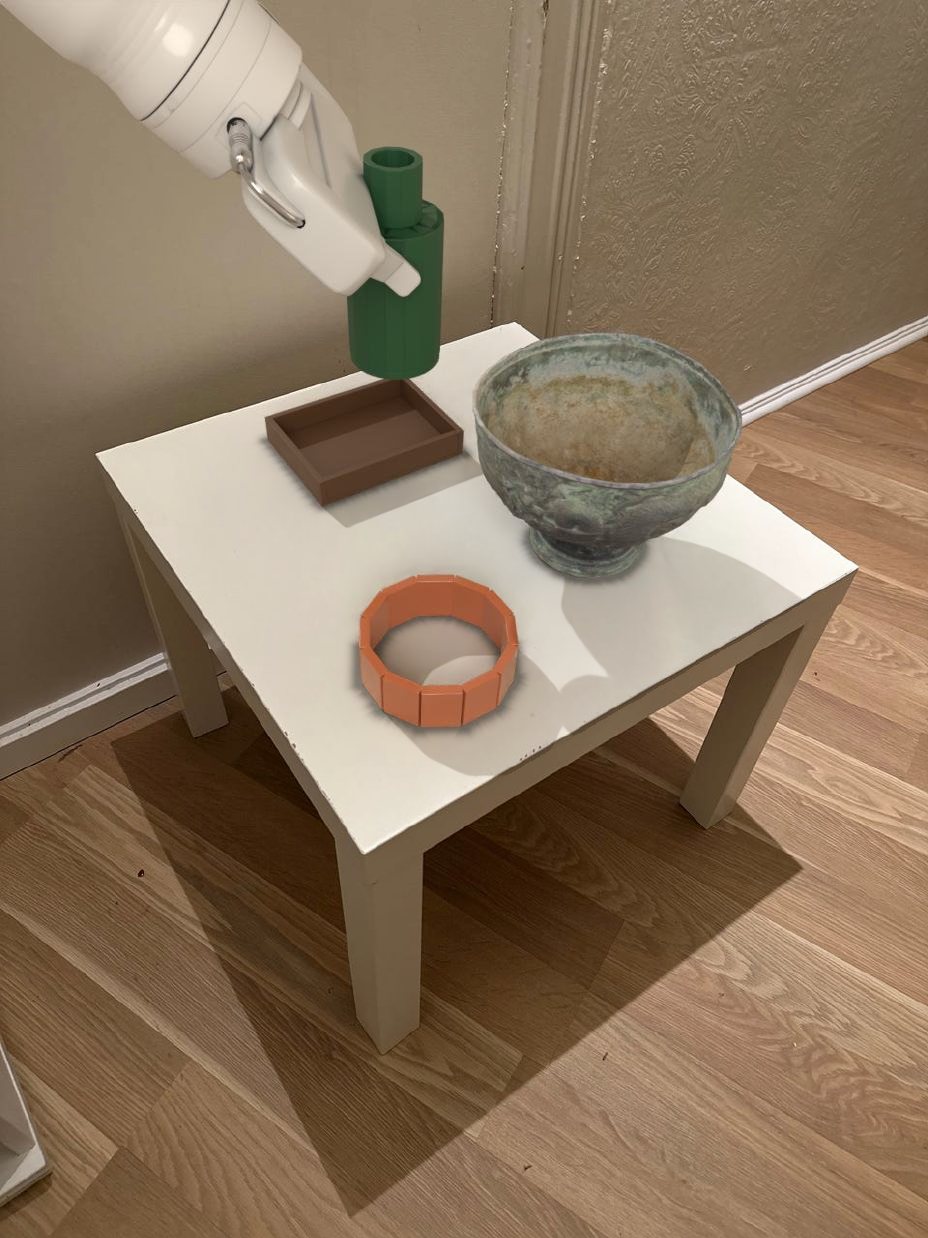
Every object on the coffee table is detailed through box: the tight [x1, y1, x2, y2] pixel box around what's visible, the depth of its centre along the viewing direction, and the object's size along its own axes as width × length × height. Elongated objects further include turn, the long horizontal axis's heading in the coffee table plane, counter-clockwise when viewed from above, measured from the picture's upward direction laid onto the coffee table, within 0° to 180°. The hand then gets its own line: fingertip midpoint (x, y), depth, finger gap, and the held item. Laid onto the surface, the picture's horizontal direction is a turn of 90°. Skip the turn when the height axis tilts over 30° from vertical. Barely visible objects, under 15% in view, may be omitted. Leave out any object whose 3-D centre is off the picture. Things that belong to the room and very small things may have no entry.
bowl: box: [471, 331, 743, 579], centre depth 73 cm, size 20×19×15 cm
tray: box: [264, 378, 465, 507], centre depth 85 cm, size 15×11×3 cm
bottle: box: [346, 146, 445, 380], centre depth 59 cm, size 6×6×14 cm
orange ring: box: [358, 574, 520, 728], centre depth 67 cm, size 12×12×4 cm
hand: (403, 253), depth 59 cm, fingers closed on bottle, 6 cm apart
